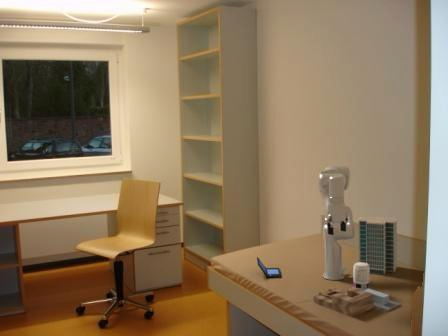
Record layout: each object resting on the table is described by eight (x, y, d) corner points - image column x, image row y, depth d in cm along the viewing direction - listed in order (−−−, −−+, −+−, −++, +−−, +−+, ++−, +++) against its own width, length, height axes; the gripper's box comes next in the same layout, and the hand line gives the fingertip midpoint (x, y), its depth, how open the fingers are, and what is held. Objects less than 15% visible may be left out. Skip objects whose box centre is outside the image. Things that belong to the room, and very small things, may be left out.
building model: (357, 271, 285) (357, 222, 282) (362, 263, 300) (361, 216, 297) (393, 275, 277) (393, 224, 273) (396, 266, 292) (396, 218, 288)
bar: (363, 298, 243) (363, 290, 243) (368, 296, 246) (368, 288, 245) (383, 305, 234) (383, 297, 233) (389, 302, 236) (389, 295, 236)
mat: (369, 295, 249) (369, 293, 249) (400, 305, 235) (400, 303, 235) (356, 300, 243) (356, 299, 242) (387, 311, 228) (387, 310, 228)
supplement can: (350, 290, 256) (350, 263, 255) (362, 287, 260) (362, 260, 258) (360, 295, 249) (360, 267, 247) (372, 292, 252) (372, 264, 251)
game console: (281, 278, 280) (281, 263, 279) (258, 278, 281) (257, 263, 280) (279, 269, 296) (279, 255, 295) (257, 270, 296) (256, 256, 295)
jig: (313, 302, 243) (313, 288, 242) (334, 294, 252) (334, 281, 252) (352, 317, 224) (352, 302, 223) (373, 307, 233) (373, 293, 232)
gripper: (341, 196, 253) (342, 228, 255) (319, 201, 243) (320, 234, 245) (353, 198, 247) (353, 231, 249) (331, 203, 237) (331, 237, 239)
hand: (337, 232), depth 247 cm, fingers open, 9 cm apart
